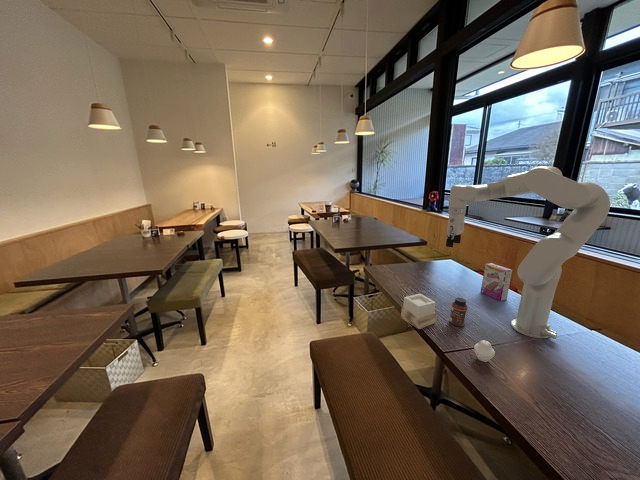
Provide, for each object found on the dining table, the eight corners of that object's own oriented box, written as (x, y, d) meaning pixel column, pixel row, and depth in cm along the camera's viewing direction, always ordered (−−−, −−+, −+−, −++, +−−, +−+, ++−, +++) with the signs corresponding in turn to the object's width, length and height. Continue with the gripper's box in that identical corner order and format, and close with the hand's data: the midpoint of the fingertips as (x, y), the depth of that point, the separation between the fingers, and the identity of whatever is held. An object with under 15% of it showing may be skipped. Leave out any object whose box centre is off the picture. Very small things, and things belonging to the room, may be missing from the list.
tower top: (434, 313, 110) (435, 302, 108) (417, 317, 106) (419, 306, 105) (419, 303, 118) (420, 293, 117) (403, 307, 115) (404, 297, 113)
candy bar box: (479, 292, 138) (484, 263, 134) (486, 290, 140) (491, 262, 136) (500, 301, 128) (506, 271, 124) (507, 300, 130) (513, 269, 126)
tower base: (435, 323, 111) (436, 312, 110) (418, 329, 107) (420, 319, 106) (416, 312, 120) (417, 302, 119) (400, 318, 115) (401, 308, 114)
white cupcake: (468, 355, 91) (471, 338, 90) (480, 351, 93) (483, 334, 92) (484, 367, 86) (488, 349, 84) (497, 362, 88) (501, 344, 86)
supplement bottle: (449, 325, 110) (452, 300, 107) (449, 318, 115) (452, 294, 112) (465, 328, 107) (468, 304, 104) (464, 321, 112) (468, 297, 109)
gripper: (458, 213, 117) (454, 249, 121) (471, 209, 129) (466, 242, 133) (441, 212, 122) (438, 246, 126) (455, 208, 134) (451, 240, 138)
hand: (453, 244), depth 130 cm, fingers open, 9 cm apart
